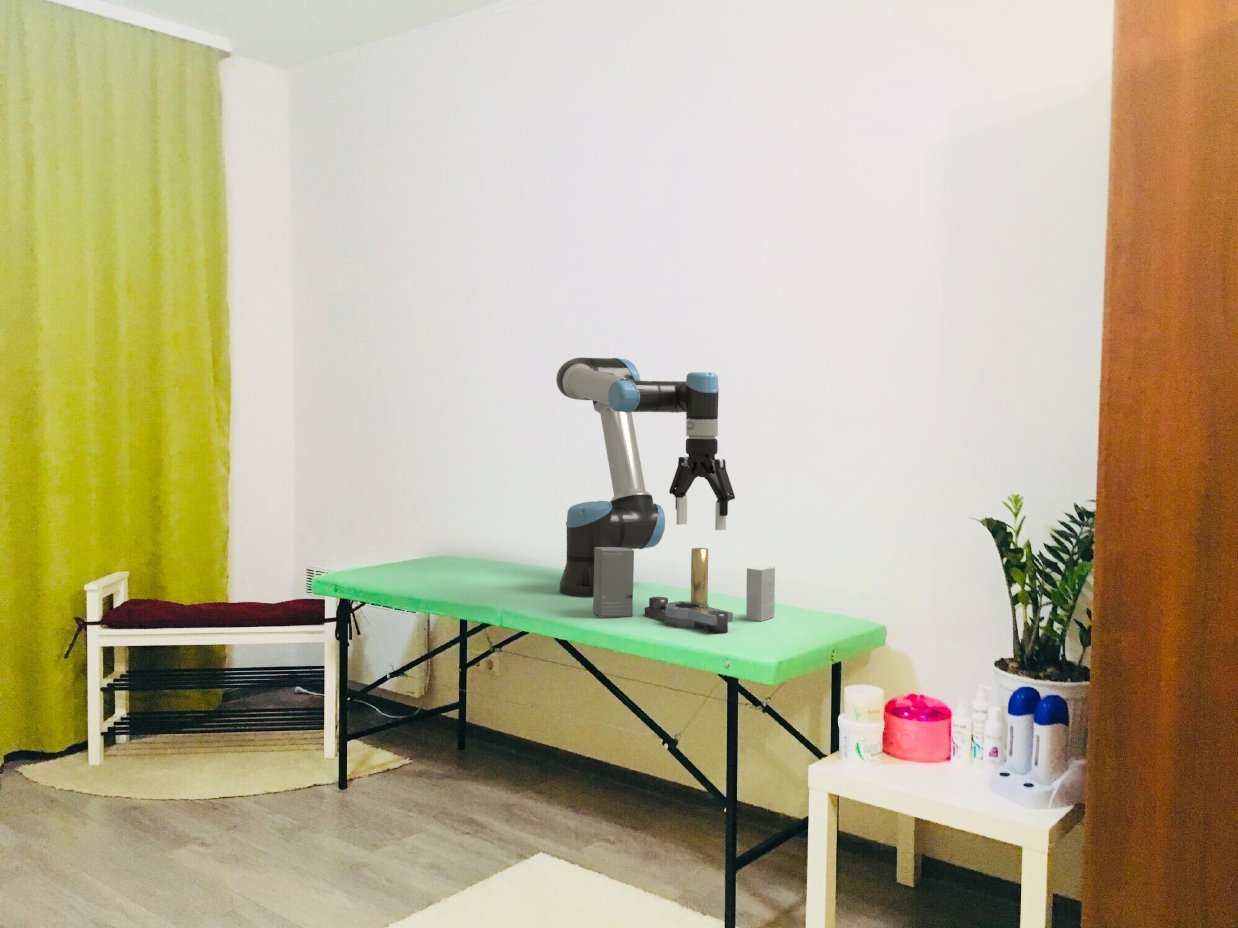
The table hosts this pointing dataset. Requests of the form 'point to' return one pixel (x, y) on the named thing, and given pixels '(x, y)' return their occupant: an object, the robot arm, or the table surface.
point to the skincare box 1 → (613, 581)
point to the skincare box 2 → (760, 593)
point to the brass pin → (699, 575)
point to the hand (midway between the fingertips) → (700, 527)
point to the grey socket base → (688, 614)
